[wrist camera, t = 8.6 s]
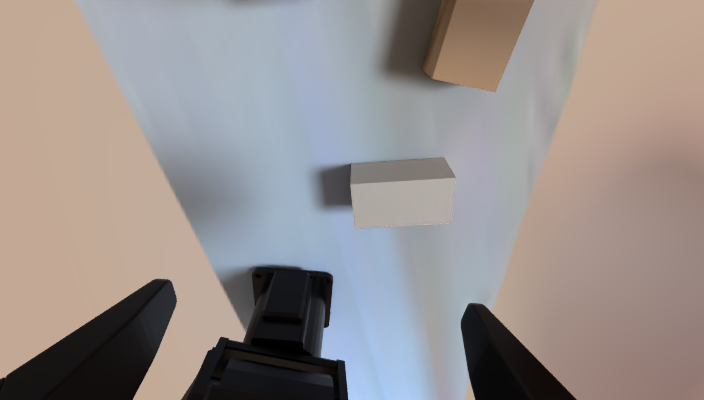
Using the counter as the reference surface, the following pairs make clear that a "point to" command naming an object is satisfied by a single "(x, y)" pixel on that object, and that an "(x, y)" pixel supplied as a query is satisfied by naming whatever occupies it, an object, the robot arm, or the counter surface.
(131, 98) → the counter surface
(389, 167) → the grey brick
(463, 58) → the walnut brick
